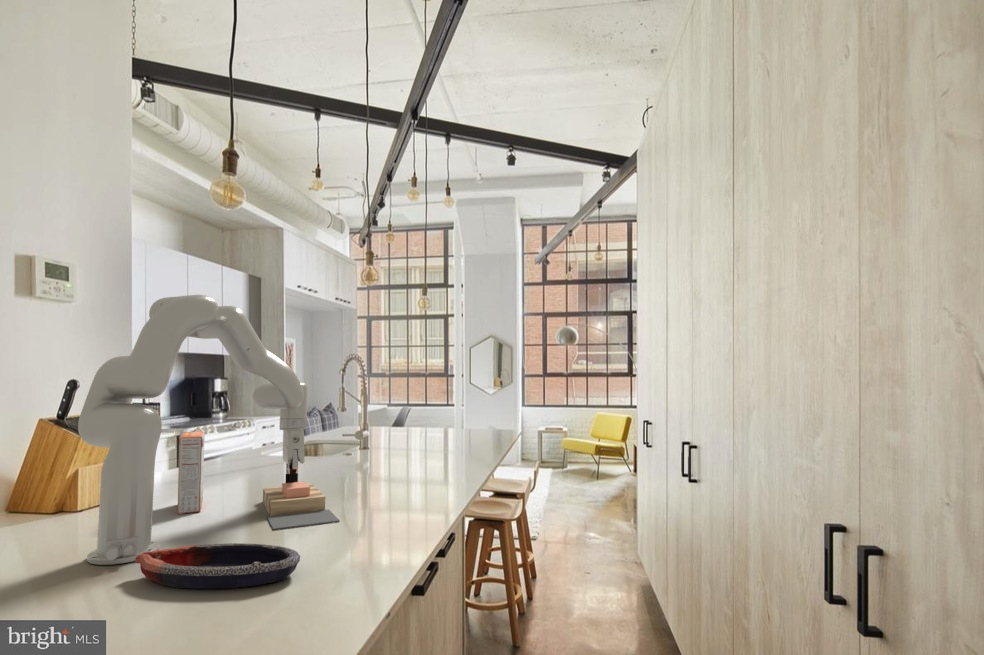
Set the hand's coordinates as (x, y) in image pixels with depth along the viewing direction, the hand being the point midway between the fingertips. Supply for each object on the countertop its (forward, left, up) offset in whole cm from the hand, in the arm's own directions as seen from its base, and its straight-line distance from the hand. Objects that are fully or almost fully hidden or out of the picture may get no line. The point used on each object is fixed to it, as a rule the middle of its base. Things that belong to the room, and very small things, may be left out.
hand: (291, 487), depth 162 cm
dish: (-55, +21, -5) cm, 59 cm away
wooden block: (-4, 0, -5) cm, 6 cm away
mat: (-20, 0, -5) cm, 21 cm away
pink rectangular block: (-6, 0, -1) cm, 6 cm away
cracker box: (+8, +26, -5) cm, 28 cm away
